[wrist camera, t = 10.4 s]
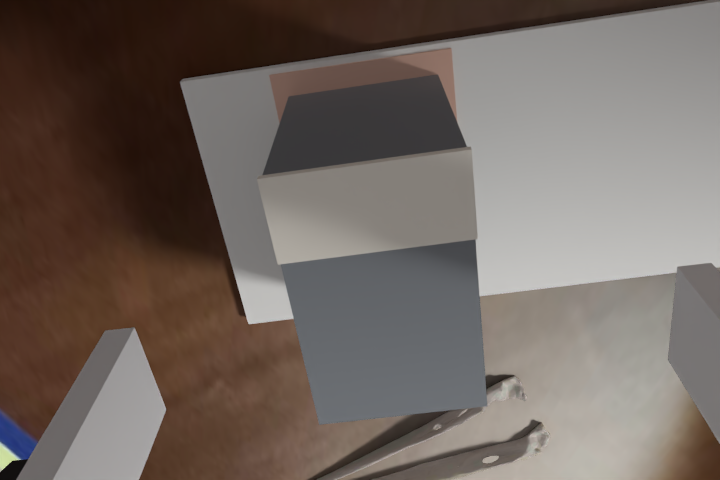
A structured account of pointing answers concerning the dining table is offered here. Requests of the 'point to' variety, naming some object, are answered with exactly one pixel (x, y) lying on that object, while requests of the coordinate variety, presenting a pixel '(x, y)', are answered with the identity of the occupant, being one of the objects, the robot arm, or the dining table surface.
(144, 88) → the dining table surface
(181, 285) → the dining table surface
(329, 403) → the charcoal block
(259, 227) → the flat white strip
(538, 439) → the tweezers
